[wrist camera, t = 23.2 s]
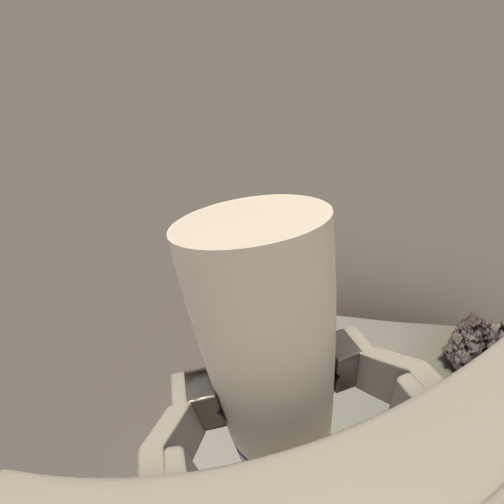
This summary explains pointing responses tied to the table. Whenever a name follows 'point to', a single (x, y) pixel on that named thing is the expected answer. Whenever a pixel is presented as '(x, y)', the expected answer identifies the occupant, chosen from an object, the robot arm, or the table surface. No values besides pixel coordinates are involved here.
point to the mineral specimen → (471, 339)
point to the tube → (263, 314)
